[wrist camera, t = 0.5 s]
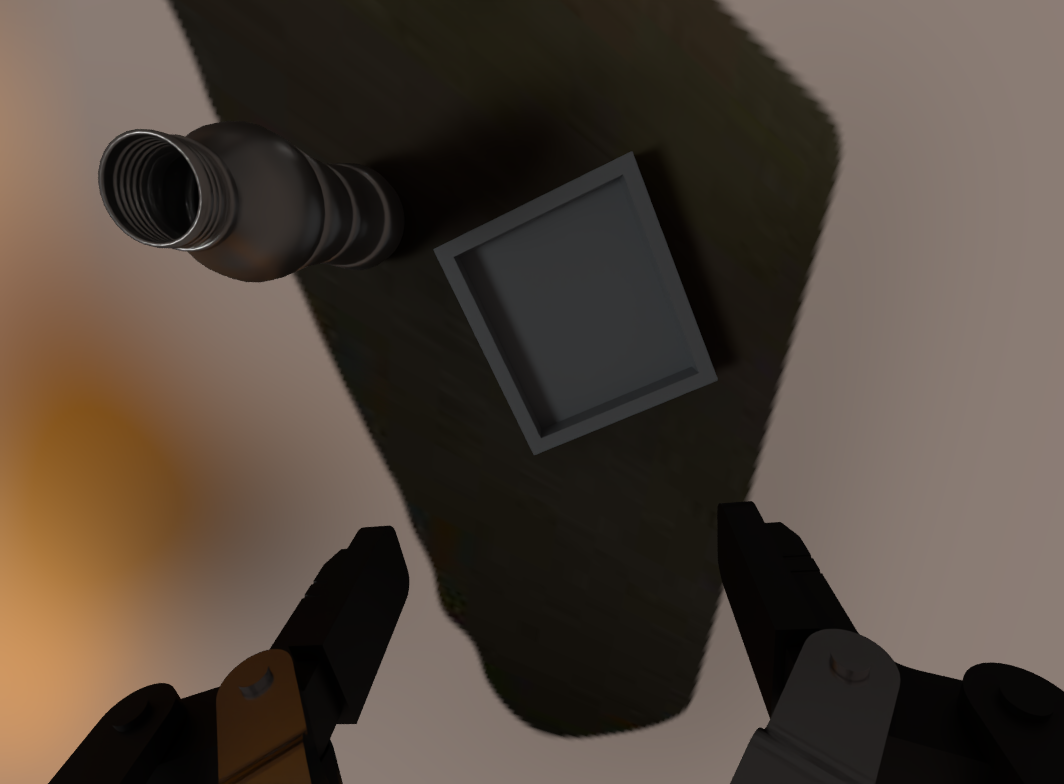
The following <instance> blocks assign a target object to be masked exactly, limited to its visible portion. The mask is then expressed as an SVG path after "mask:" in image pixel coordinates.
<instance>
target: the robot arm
mask: <svg viewBox="0 0 1064 784" xmlns="http://www.w3.org/2000/svg"><path fill="white" fill-rule="evenodd" d="M717 520H718V564H719V570H720V575H721V579H722V583H723V586H724V588H725V591H726V594H727V597H728V600H729V603H730V605H731V608H732V611H733V614H734V617H735V620H736V623H737V626H738V628H739V631H740V634H741V637H742V640H743V643H744V645H745V648H746V651H747V654H748V657H749V660H750V662H751V665H752V668H753V671H754V674H755V677H756V680H757V683H758V685H759V688H760V691H761V694H762V697H763V700H764V703H765V705H766V708H767V711H768V714H769V717H770V721H769V723H768V725H767V727H766V728H765V729H763V728H758V729H757V730H756V731H755V733H754V734H753V736H752V738H751V740H750V742H749V744H748V746H747V748H746V750H745V753H744V755H743V757H742V759H741V761H740V763H739V766H738V768H737V770H736V772H735V774H734V776H733V778H732V781H731V783H730V784H1064V691H1062V690H1061V689H1059V688H1058V687H1057V686H1055V685H1054V684H1052V683H1050V682H1049V681H1047V680H1046V679H1044V678H1042V677H1040V676H1038V675H1036V674H1034V673H1032V672H1029V671H1026V670H1024V669H1022V668H1018V667H1015V666H1012V665H1007V664H1002V663H981V664H977V665H975V666H973V667H971V668H970V669H968V670H967V671H966V673H965V675H964V677H963V681H962V680H958V679H954V678H949V677H945V676H940V675H936V674H932V673H927V672H923V671H919V670H915V669H912V668H908V667H906V666H903V665H900V664H898V663H896V662H894V661H893V660H892V658H891V657H890V656H889V654H888V653H887V652H886V651H885V650H884V649H882V648H881V647H880V646H879V645H877V644H876V643H875V642H873V641H871V640H870V639H868V638H866V637H864V636H862V635H860V634H859V633H858V632H857V631H856V629H855V627H854V626H853V624H852V622H851V621H850V619H849V617H848V616H847V614H846V612H845V611H844V609H843V608H842V606H841V604H840V602H839V601H838V599H837V597H836V596H835V594H834V593H833V591H832V589H831V588H830V586H829V584H828V583H827V581H826V579H825V578H824V576H823V574H821V573H820V569H819V568H818V566H817V565H816V563H815V561H814V559H813V558H811V555H810V553H809V551H808V550H807V548H806V546H805V545H804V543H803V541H802V540H801V538H800V537H799V536H798V535H797V534H796V533H794V532H793V531H792V530H790V529H789V528H788V527H787V526H785V525H784V524H783V523H781V522H775V523H764V521H763V519H762V517H761V515H760V513H759V511H758V509H757V507H756V506H755V504H754V503H753V502H752V501H748V502H734V503H719V505H718V510H717ZM408 591H409V574H408V570H407V566H406V563H405V560H404V557H403V554H402V550H401V548H400V544H399V541H398V538H397V535H396V532H395V530H394V528H393V527H392V526H378V527H365V528H361V529H360V530H359V531H358V532H357V534H356V535H355V537H354V539H353V540H352V542H351V544H350V546H349V547H348V549H341V550H340V551H339V552H338V553H337V554H335V555H334V556H333V557H332V558H331V559H330V560H329V561H328V562H326V563H325V564H324V566H323V567H322V569H321V570H320V572H319V574H318V575H317V576H316V578H315V580H314V584H312V585H311V586H310V588H309V589H308V590H307V592H306V594H305V598H303V599H302V600H301V601H300V603H299V604H298V606H297V607H296V609H295V611H294V612H293V614H292V615H291V617H290V618H289V620H288V622H287V623H286V625H285V626H284V628H283V629H282V631H281V633H280V634H279V636H278V637H277V639H276V640H275V642H274V644H273V645H272V646H271V648H270V649H269V650H266V651H262V652H259V653H257V654H255V655H253V656H251V657H249V658H247V659H246V660H244V661H243V662H242V663H240V664H239V665H238V666H237V667H235V668H234V669H233V670H232V671H231V672H230V673H229V674H228V676H227V677H226V678H225V679H224V681H223V682H222V684H221V686H220V687H217V688H214V689H211V690H208V691H205V692H201V693H198V694H195V695H192V696H189V697H186V698H183V699H180V697H179V695H178V694H177V692H176V690H175V689H174V688H173V686H171V685H169V684H166V683H158V684H153V685H149V686H146V687H144V688H141V689H139V690H137V691H135V692H133V693H132V694H130V695H128V696H127V697H125V698H124V699H122V700H121V701H120V702H118V703H117V704H116V705H115V706H113V707H112V708H111V709H110V710H109V711H108V712H107V713H106V714H105V715H104V716H103V717H102V718H101V720H100V721H99V722H98V723H97V724H96V726H95V727H94V728H93V729H92V730H91V732H90V733H89V734H88V735H87V737H86V738H85V739H84V740H83V741H82V743H81V744H80V745H79V746H78V748H77V749H76V750H75V751H74V753H73V754H72V755H71V756H70V758H69V759H68V760H67V761H66V762H65V764H64V765H63V766H62V767H61V768H60V770H59V771H58V772H57V773H56V775H55V776H54V777H53V778H52V779H51V781H50V782H49V783H48V784H343V783H342V779H341V775H340V771H339V767H338V764H337V759H336V755H335V751H334V748H333V745H332V742H331V740H330V737H331V735H332V733H333V731H334V728H335V726H336V724H357V721H358V719H359V716H360V714H361V711H362V709H363V706H364V704H365V701H366V698H367V696H368V694H369V691H370V689H371V686H372V684H373V681H374V679H375V676H376V674H377V671H378V669H379V666H380V664H381V661H382V659H383V656H384V654H385V651H386V648H387V646H388V644H389V641H390V639H391V636H392V634H393V631H394V629H395V626H396V624H397V621H398V619H399V616H400V614H401V611H402V609H403V606H404V604H405V601H406V599H407V596H408Z"/></svg>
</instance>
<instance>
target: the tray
mask: <svg viewBox="0 0 1064 784" xmlns="http://www.w3.org/2000/svg"><path fill="white" fill-rule="evenodd" d="M433 250H434V252H435V254H436V256H437V258H438V260H439V262H440V264H441V266H442V268H443V270H444V272H445V275H446V277H447V279H448V281H449V283H450V285H451V287H452V289H453V291H454V293H455V295H456V297H457V299H458V301H459V303H460V305H461V307H462V309H463V311H464V313H465V315H466V317H467V319H468V321H469V324H470V326H471V328H472V330H473V332H474V334H475V336H476V338H477V340H478V342H479V344H480V346H481V348H482V350H483V352H484V354H485V356H486V358H487V360H488V362H489V364H490V366H491V368H492V370H493V372H494V375H495V377H496V379H497V381H498V383H499V385H500V387H501V389H502V391H503V393H504V395H505V397H506V399H507V401H508V403H509V405H510V407H511V409H512V411H513V413H514V415H515V417H516V419H517V421H518V424H519V426H520V428H521V430H522V432H523V434H524V436H525V438H526V440H527V442H528V444H529V446H530V448H531V450H532V452H533V454H534V455H536V454H538V453H541V452H543V451H546V450H548V449H551V448H553V447H556V446H558V445H560V444H563V443H565V442H568V441H570V440H573V439H575V438H578V437H580V436H582V435H585V434H587V433H590V432H592V431H595V430H597V429H600V428H602V427H605V426H607V425H609V424H612V423H614V422H617V421H619V420H622V419H624V418H627V417H629V416H631V415H634V414H636V413H639V412H641V411H644V410H646V409H649V408H651V407H653V406H656V405H658V404H661V403H663V402H666V401H668V400H671V399H673V398H676V397H678V396H680V395H683V394H685V393H688V392H690V391H693V390H695V389H698V388H700V387H702V386H705V385H707V384H710V383H712V382H715V381H717V380H718V379H717V376H716V373H715V371H714V368H713V365H712V363H711V360H710V357H709V355H708V352H707V349H706V347H705V344H704V341H703V339H702V336H701V333H700V331H699V328H698V325H697V323H696V320H695V317H694V315H693V312H692V309H691V307H690V304H689V301H688V299H687V296H686V293H685V291H684V288H683V285H682V283H681V280H680V277H679V275H678V272H677V269H676V267H675V264H674V261H673V259H672V256H671V253H670V251H669V248H668V245H667V243H666V240H665V237H664V235H663V232H662V229H661V227H660V224H659V221H658V219H657V216H656V213H655V211H654V208H653V205H652V203H651V200H650V197H649V195H648V192H647V189H646V187H645V184H644V181H643V179H642V176H641V173H640V171H639V168H638V165H637V163H636V160H635V157H634V155H633V152H632V151H631V152H629V153H627V154H625V155H623V156H621V157H619V158H617V159H615V160H613V161H611V162H609V163H607V164H605V165H603V166H601V167H599V168H597V169H595V170H593V171H591V172H589V173H587V174H585V175H583V176H581V177H579V178H577V179H575V180H573V181H571V182H568V183H566V184H564V185H562V186H560V187H558V188H556V189H554V190H552V191H550V192H548V193H546V194H544V195H542V196H540V197H538V198H536V199H534V200H532V201H530V202H528V203H526V204H524V205H522V206H520V207H518V208H516V209H514V210H512V211H510V212H508V213H506V214H504V215H502V216H500V217H498V218H496V219H494V220H492V221H490V222H488V223H486V224H484V225H482V226H479V227H477V228H475V229H473V230H471V231H469V232H467V233H465V234H463V235H461V236H459V237H457V238H455V239H453V240H451V241H449V242H447V243H445V244H443V245H441V246H439V247H437V248H435V249H433Z"/></svg>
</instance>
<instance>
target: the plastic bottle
mask: <svg viewBox="0 0 1064 784" xmlns="http://www.w3.org/2000/svg"><path fill="white" fill-rule="evenodd" d="M98 183H99V189H100V195H101V197H102V200H103V203H104V206H105V207H106V210H107V211H108V213H109V215H110V217H111V218H112V219H113V221H114V222H115V223H116V225H117V226H118V227H119V228H120V229H121V230H122V231H123V232H124V233H125V234H127V235H128V236H130V237H131V238H133V239H134V240H136V241H138V242H140V243H143V244H145V245H149V246H153V247H157V248H172V249H176V250H180V251H187V252H188V253H189V254H191V255H192V256H193V257H194V258H195V259H196V260H197V261H198V262H200V263H201V264H202V265H204V266H205V267H207V268H208V269H210V270H213V271H215V272H217V273H219V274H221V275H224V276H227V277H229V278H232V279H237V280H240V281H245V282H264V281H270V280H274V279H278V278H282V277H284V276H287V275H289V274H291V273H294V272H296V271H298V270H300V269H303V268H305V267H307V266H311V265H316V264H321V263H323V264H331V265H334V266H337V267H341V268H345V269H350V270H364V269H369V268H372V267H374V266H376V265H378V264H380V263H381V262H383V261H384V260H386V259H387V258H388V257H390V256H391V254H392V253H393V252H394V251H395V250H396V248H397V247H398V245H399V243H400V241H401V239H402V236H403V232H404V226H405V219H404V211H403V206H402V203H401V201H400V198H399V196H398V195H397V193H396V191H395V190H394V188H393V187H392V186H391V185H390V184H389V183H388V182H387V180H386V179H385V178H384V177H383V176H382V175H380V174H379V173H378V172H376V171H375V170H373V169H371V168H369V167H367V166H364V165H360V164H354V163H336V164H329V163H323V162H321V161H318V160H316V159H314V158H312V157H310V156H308V155H307V154H306V153H304V152H303V151H301V150H300V149H299V148H297V147H296V146H294V145H293V144H292V143H290V142H289V141H288V140H286V139H285V138H283V137H282V136H280V135H278V134H276V133H274V132H272V131H270V130H268V129H266V128H264V127H262V126H260V125H257V124H253V123H249V122H245V121H226V122H219V123H214V124H210V125H205V126H202V127H200V128H198V129H196V130H194V131H192V132H190V133H189V134H188V135H187V136H186V137H184V136H181V135H169V134H166V133H163V132H159V131H155V130H147V129H135V130H131V131H126V132H124V133H122V134H120V135H119V136H117V137H116V138H115V139H114V140H113V141H111V142H110V143H109V145H108V146H107V148H106V149H105V151H104V153H103V156H102V158H101V161H100V165H99V171H98Z"/></svg>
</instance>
